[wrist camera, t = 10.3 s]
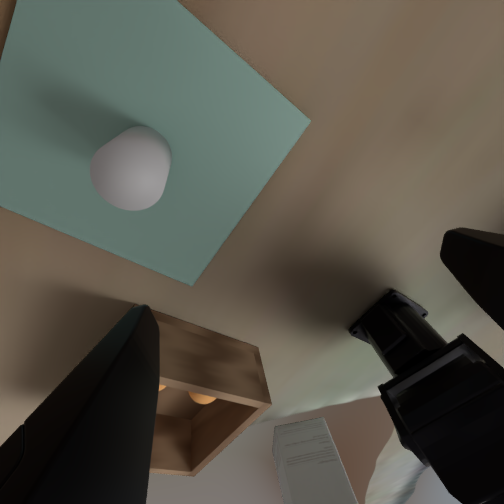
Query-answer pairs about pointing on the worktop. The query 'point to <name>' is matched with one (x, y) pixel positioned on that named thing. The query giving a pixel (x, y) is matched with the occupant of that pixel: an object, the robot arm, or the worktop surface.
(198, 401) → the ball
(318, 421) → the supplement box
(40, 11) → the lid
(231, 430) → the box
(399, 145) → the worktop surface
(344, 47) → the worktop surface
